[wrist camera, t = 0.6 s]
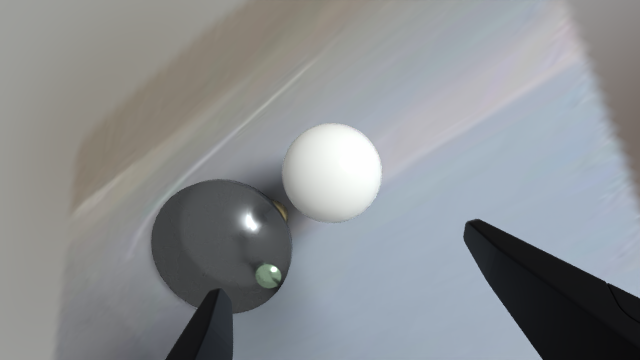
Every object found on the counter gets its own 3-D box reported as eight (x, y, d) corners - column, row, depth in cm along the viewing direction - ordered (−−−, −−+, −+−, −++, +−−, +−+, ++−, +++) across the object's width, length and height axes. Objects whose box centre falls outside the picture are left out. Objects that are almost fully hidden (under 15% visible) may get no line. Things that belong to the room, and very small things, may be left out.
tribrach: (259, 317, 28) (252, 336, 25) (148, 260, 27) (129, 274, 25) (317, 216, 26) (316, 226, 23) (197, 151, 25) (182, 154, 22)
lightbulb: (343, 205, 25) (352, 259, 14) (286, 172, 25) (251, 203, 14) (378, 147, 24) (416, 160, 13) (318, 113, 24) (307, 97, 13)
